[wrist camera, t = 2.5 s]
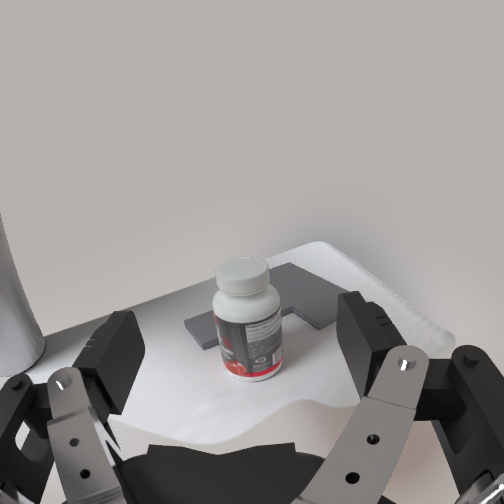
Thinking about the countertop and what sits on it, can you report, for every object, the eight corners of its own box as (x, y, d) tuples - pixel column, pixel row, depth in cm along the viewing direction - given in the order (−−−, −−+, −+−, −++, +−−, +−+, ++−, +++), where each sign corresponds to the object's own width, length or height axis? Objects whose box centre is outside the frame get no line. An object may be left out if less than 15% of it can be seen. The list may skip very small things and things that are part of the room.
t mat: (224, 376, 25) (223, 370, 25) (172, 309, 36) (171, 303, 36) (362, 304, 33) (363, 298, 33) (289, 267, 45) (289, 262, 44)
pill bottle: (213, 360, 27) (194, 266, 24) (260, 338, 30) (251, 247, 26) (245, 393, 23) (229, 291, 19) (295, 365, 26) (293, 266, 22)
